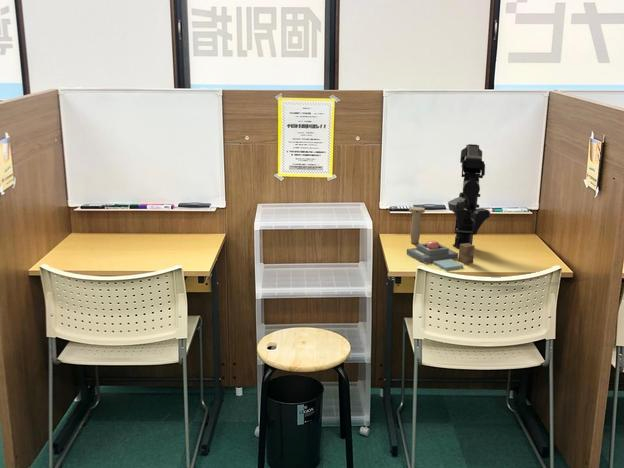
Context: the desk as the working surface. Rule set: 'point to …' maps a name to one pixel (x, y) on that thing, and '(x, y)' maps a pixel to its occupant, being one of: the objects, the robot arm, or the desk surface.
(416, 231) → the handle
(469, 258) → the brown upright block
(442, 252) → the grey stepped block
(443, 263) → the pad
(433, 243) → the button
